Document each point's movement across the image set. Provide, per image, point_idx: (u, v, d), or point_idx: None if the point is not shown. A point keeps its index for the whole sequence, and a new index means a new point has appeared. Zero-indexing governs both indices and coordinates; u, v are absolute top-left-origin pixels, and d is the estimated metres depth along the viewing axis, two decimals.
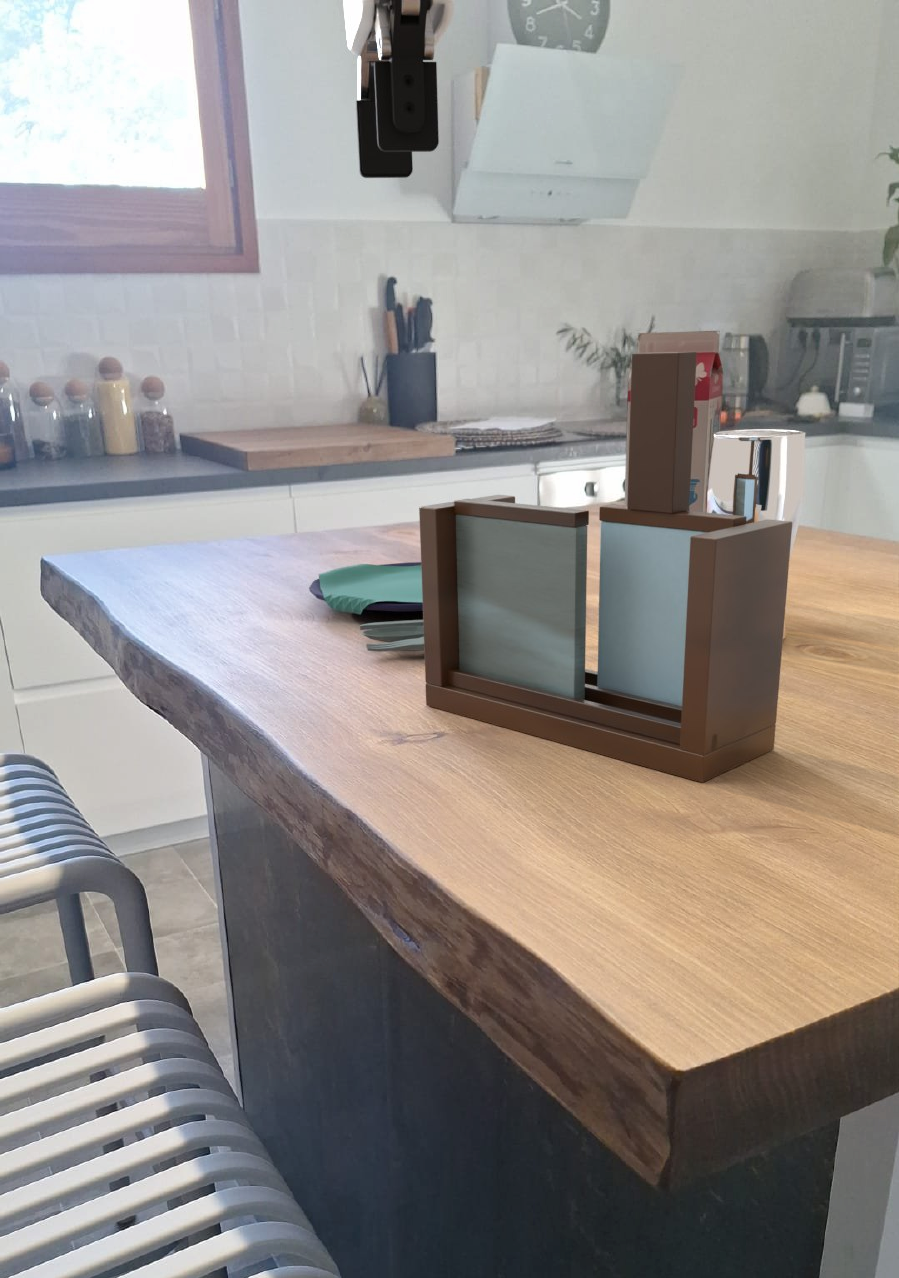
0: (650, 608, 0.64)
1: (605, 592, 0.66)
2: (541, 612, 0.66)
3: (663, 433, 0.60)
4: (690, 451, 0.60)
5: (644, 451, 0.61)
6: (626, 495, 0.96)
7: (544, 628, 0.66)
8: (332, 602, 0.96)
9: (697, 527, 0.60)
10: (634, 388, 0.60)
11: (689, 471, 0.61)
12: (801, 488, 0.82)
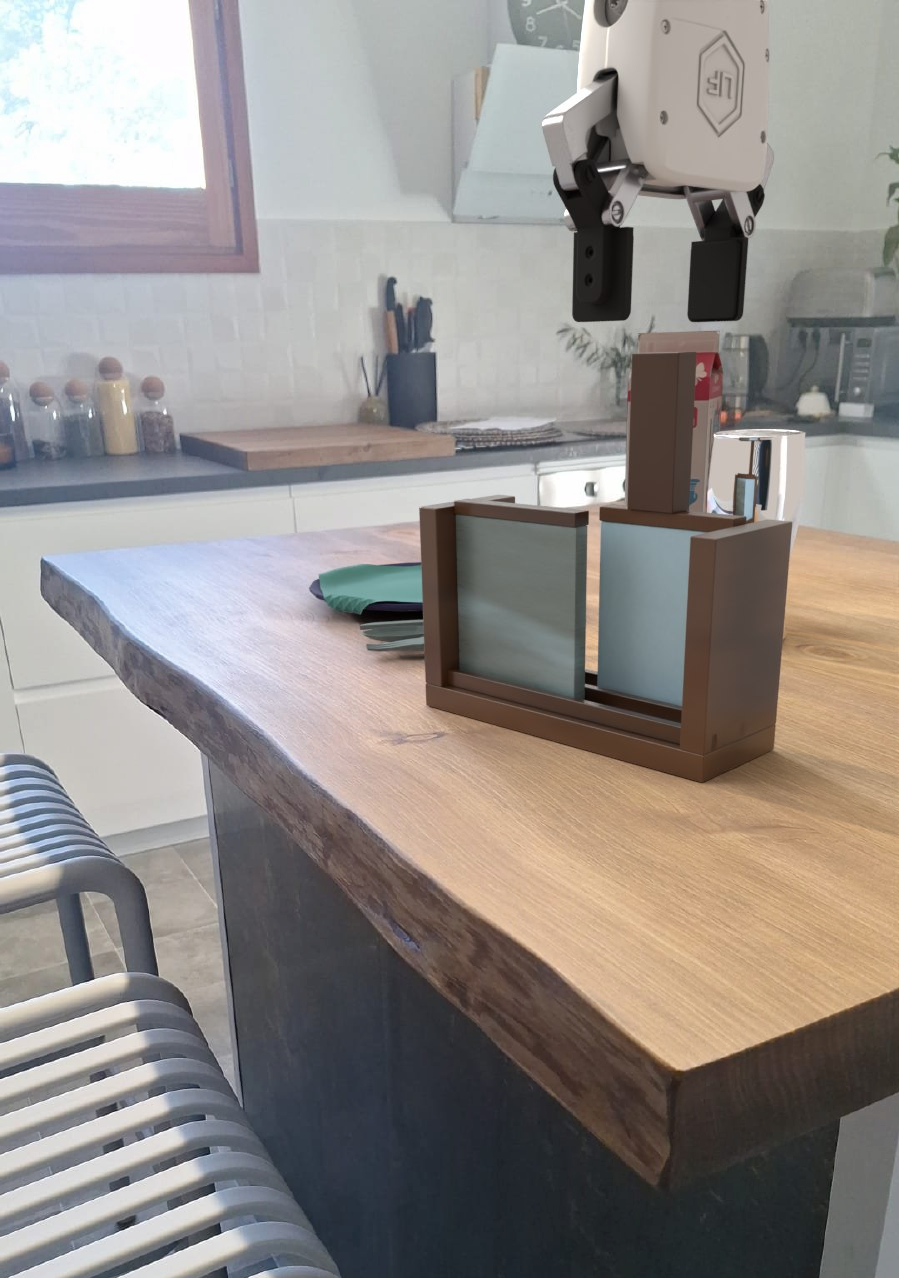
0: (650, 608, 0.64)
1: (605, 592, 0.66)
2: (541, 612, 0.66)
3: (663, 433, 0.60)
4: (690, 451, 0.60)
5: (644, 451, 0.61)
6: (626, 495, 0.96)
7: (544, 628, 0.66)
8: (332, 602, 0.96)
9: (697, 527, 0.60)
10: (634, 388, 0.60)
11: (689, 471, 0.61)
12: (801, 488, 0.82)
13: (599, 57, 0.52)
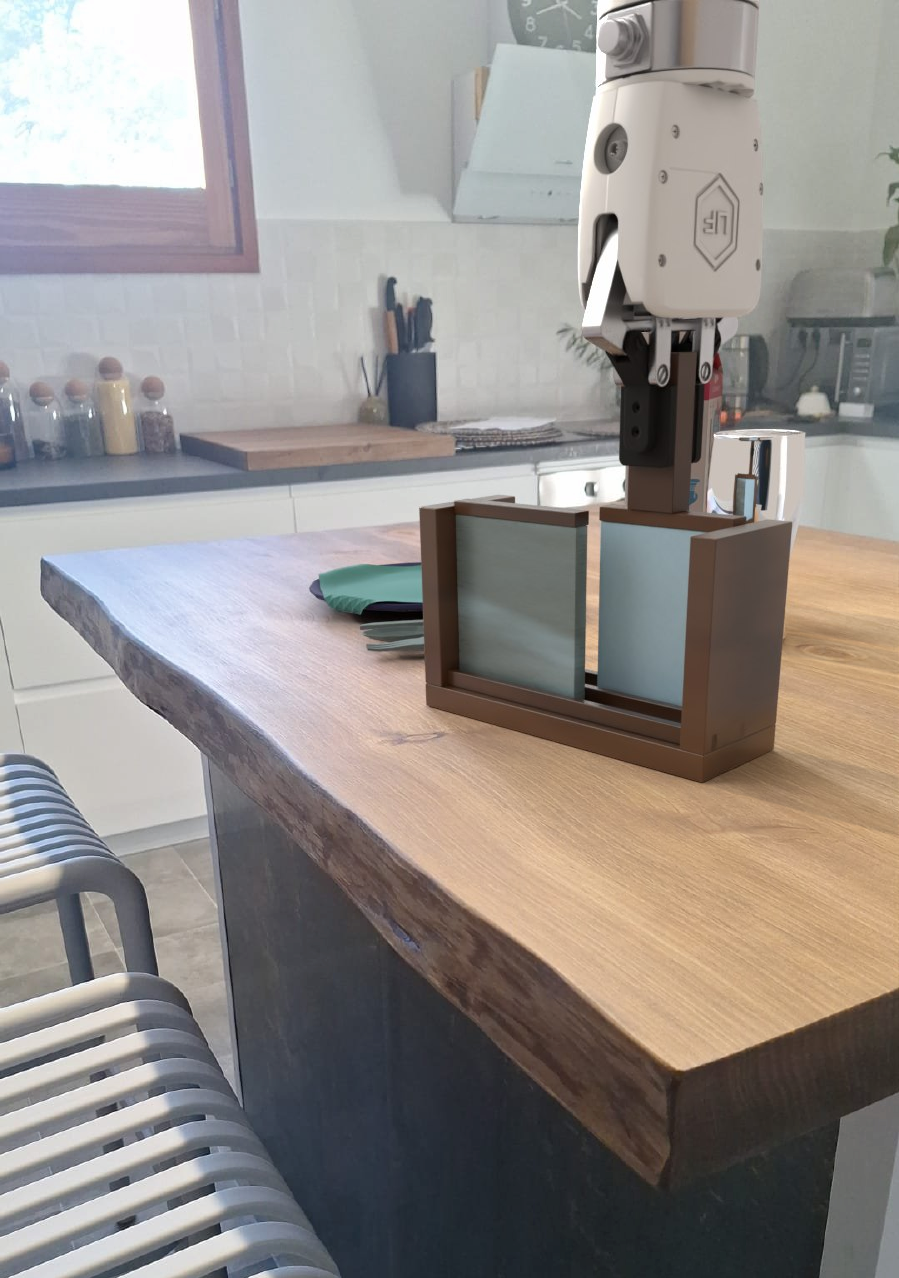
0: (650, 608, 0.64)
1: (605, 592, 0.66)
2: (541, 612, 0.66)
3: None
4: (690, 451, 0.60)
5: None
6: (626, 495, 0.96)
7: (544, 628, 0.66)
8: (332, 602, 0.96)
9: (697, 527, 0.60)
10: None
11: (689, 471, 0.61)
12: (801, 488, 0.82)
13: (599, 201, 0.54)
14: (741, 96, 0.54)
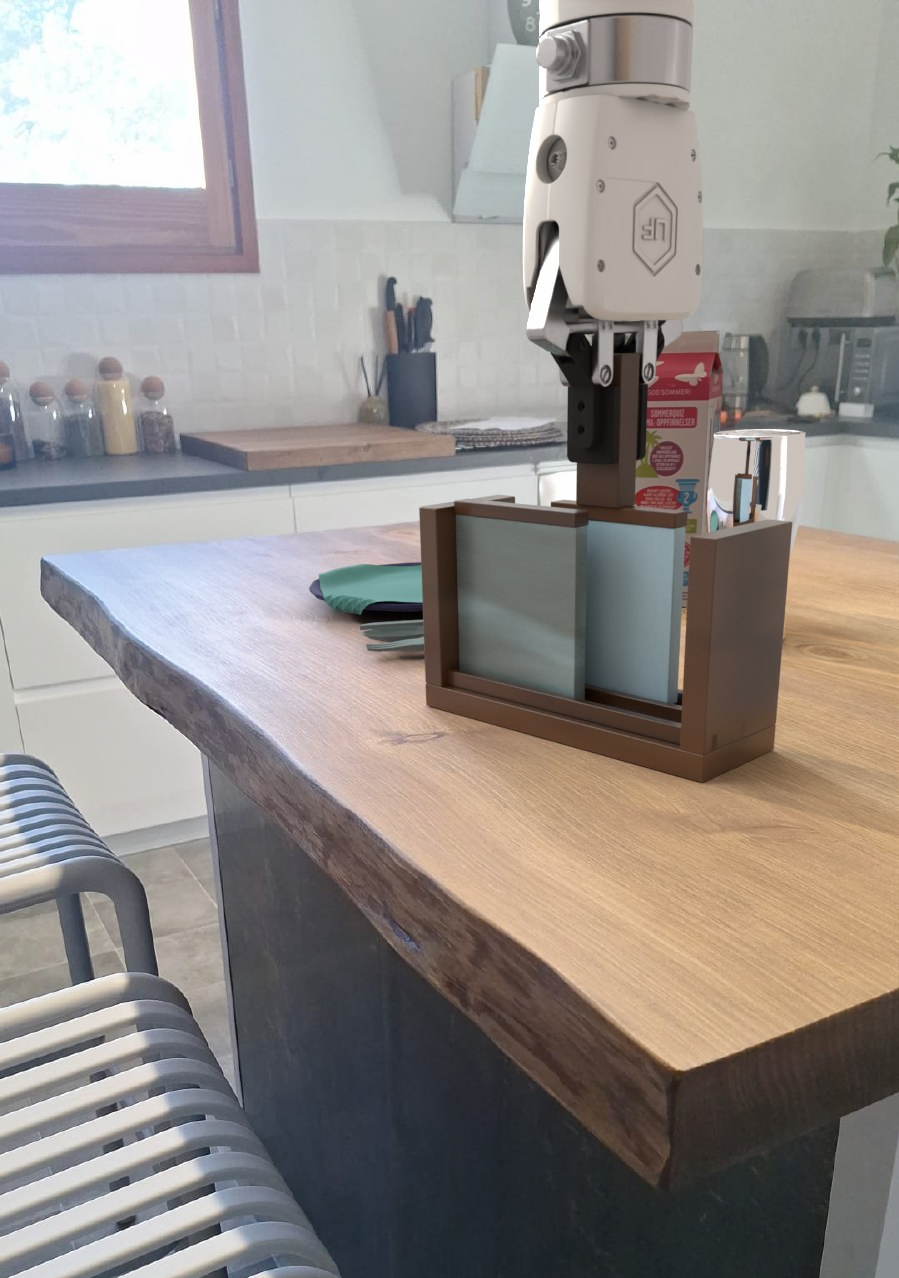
0: (599, 599, 0.66)
1: None
2: (541, 612, 0.66)
3: None
4: (634, 448, 0.63)
5: None
6: None
7: (544, 628, 0.66)
8: (332, 602, 0.96)
9: (641, 521, 0.62)
10: None
11: (634, 468, 0.63)
12: (801, 488, 0.82)
13: (541, 209, 0.56)
14: (678, 108, 0.57)
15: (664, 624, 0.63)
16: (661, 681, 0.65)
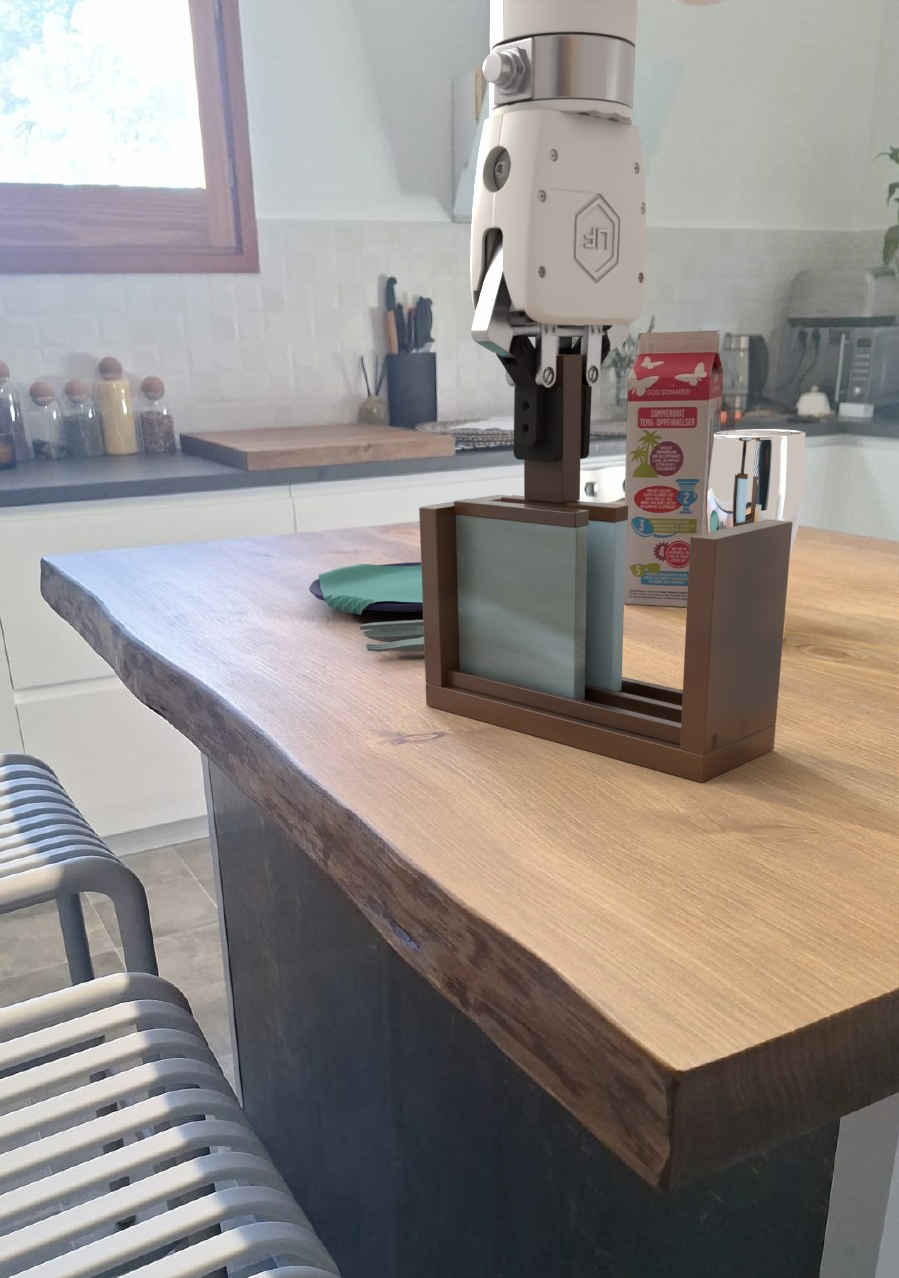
0: None
1: None
2: (541, 612, 0.66)
3: None
4: (578, 445, 0.65)
5: None
6: (626, 495, 0.96)
7: (544, 628, 0.66)
8: (332, 602, 0.96)
9: None
10: None
11: (578, 464, 0.66)
12: (801, 488, 0.82)
13: (487, 216, 0.59)
14: (621, 123, 0.60)
15: (607, 614, 0.66)
16: (605, 669, 0.67)
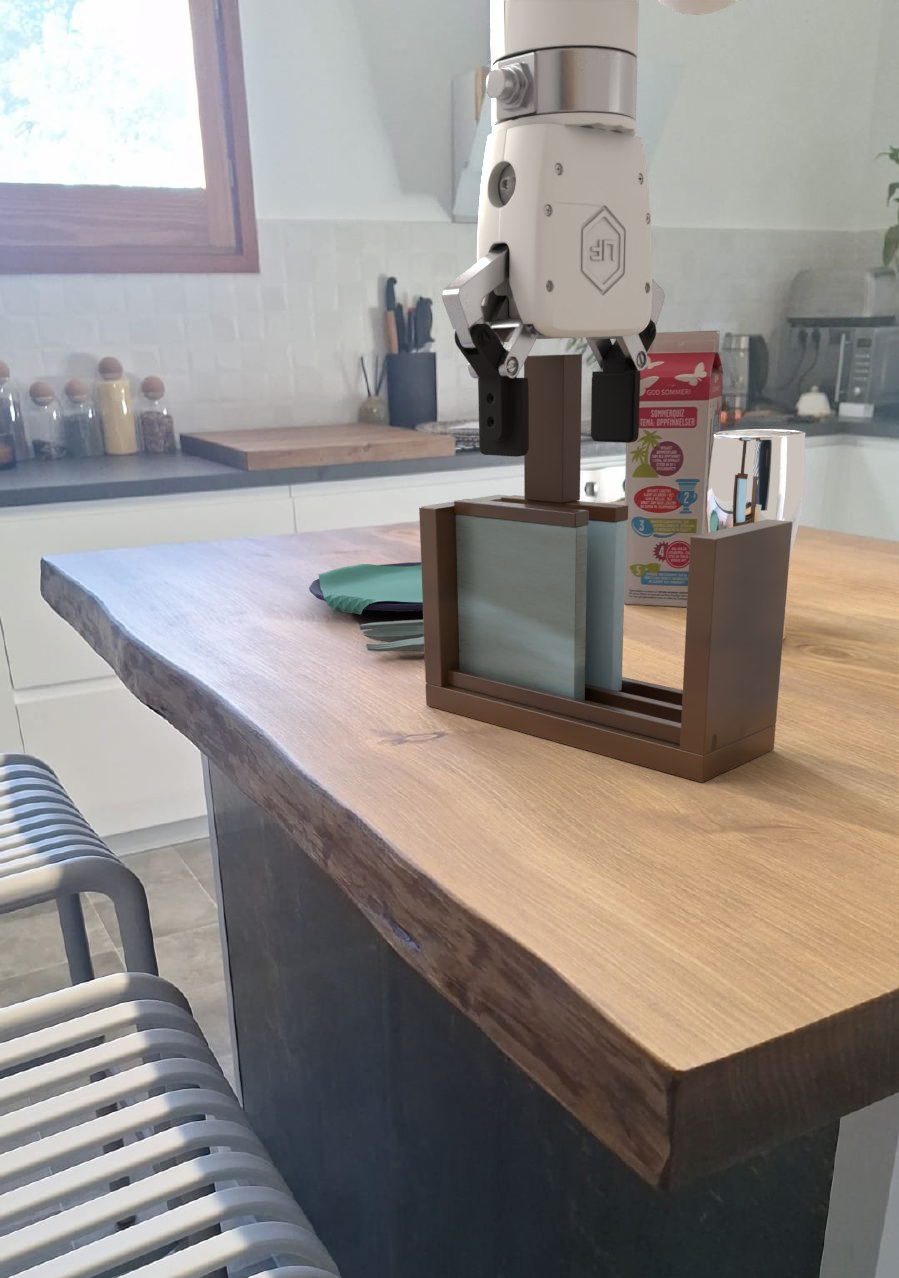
0: None
1: None
2: (541, 612, 0.66)
3: (553, 429, 0.65)
4: (579, 445, 0.65)
5: (537, 446, 0.66)
6: (626, 495, 0.96)
7: (544, 628, 0.66)
8: (332, 602, 0.96)
9: None
10: None
11: (578, 464, 0.66)
12: (801, 488, 0.82)
13: (493, 232, 0.59)
14: (624, 134, 0.59)
15: (607, 614, 0.66)
16: (605, 669, 0.67)
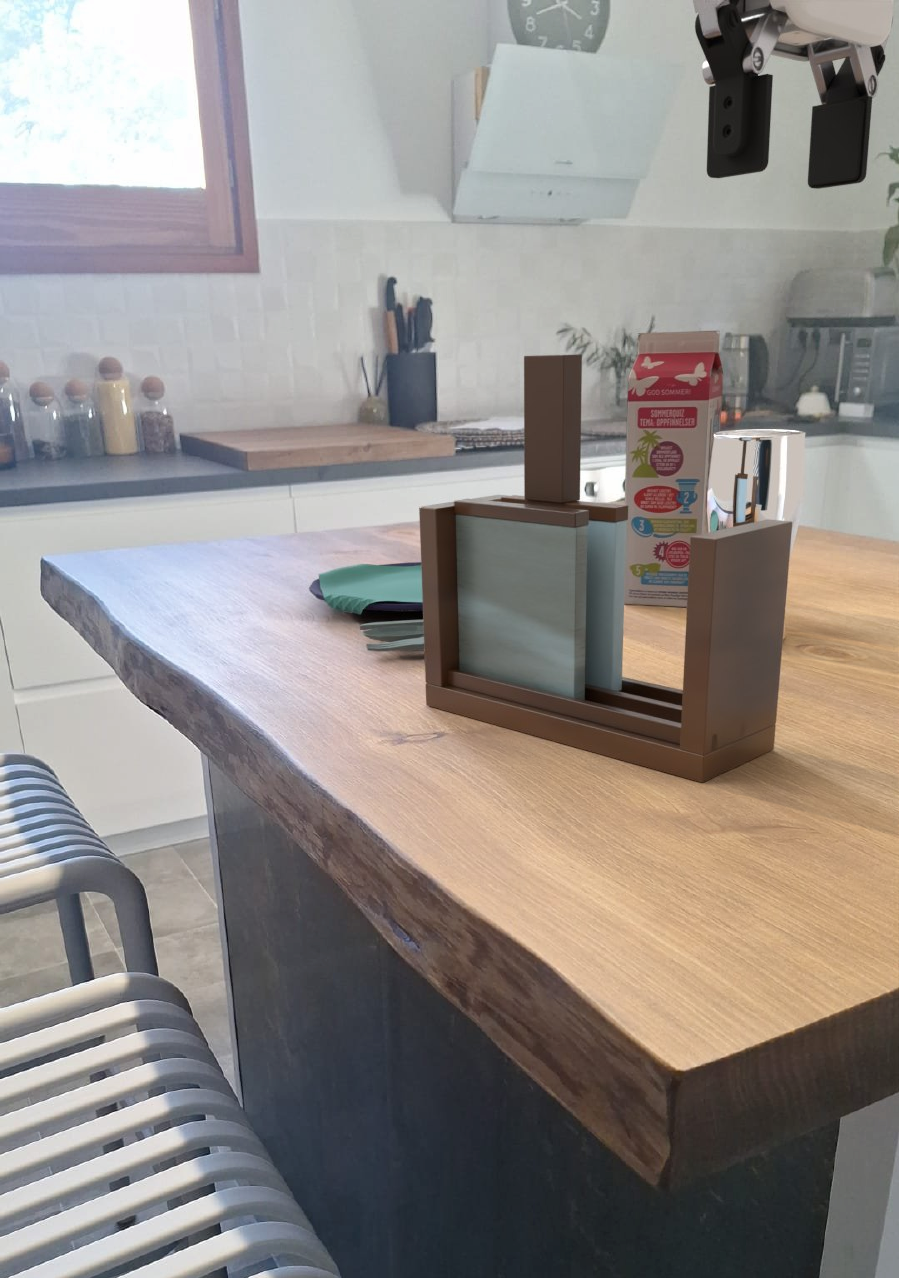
0: None
1: None
2: (541, 612, 0.66)
3: (553, 429, 0.65)
4: (579, 445, 0.65)
5: (537, 446, 0.66)
6: (626, 495, 0.96)
7: (544, 628, 0.66)
8: (332, 602, 0.96)
9: None
10: (527, 387, 0.65)
11: (578, 464, 0.66)
12: (801, 488, 0.82)
13: None
14: None
15: (607, 614, 0.66)
16: (605, 669, 0.67)
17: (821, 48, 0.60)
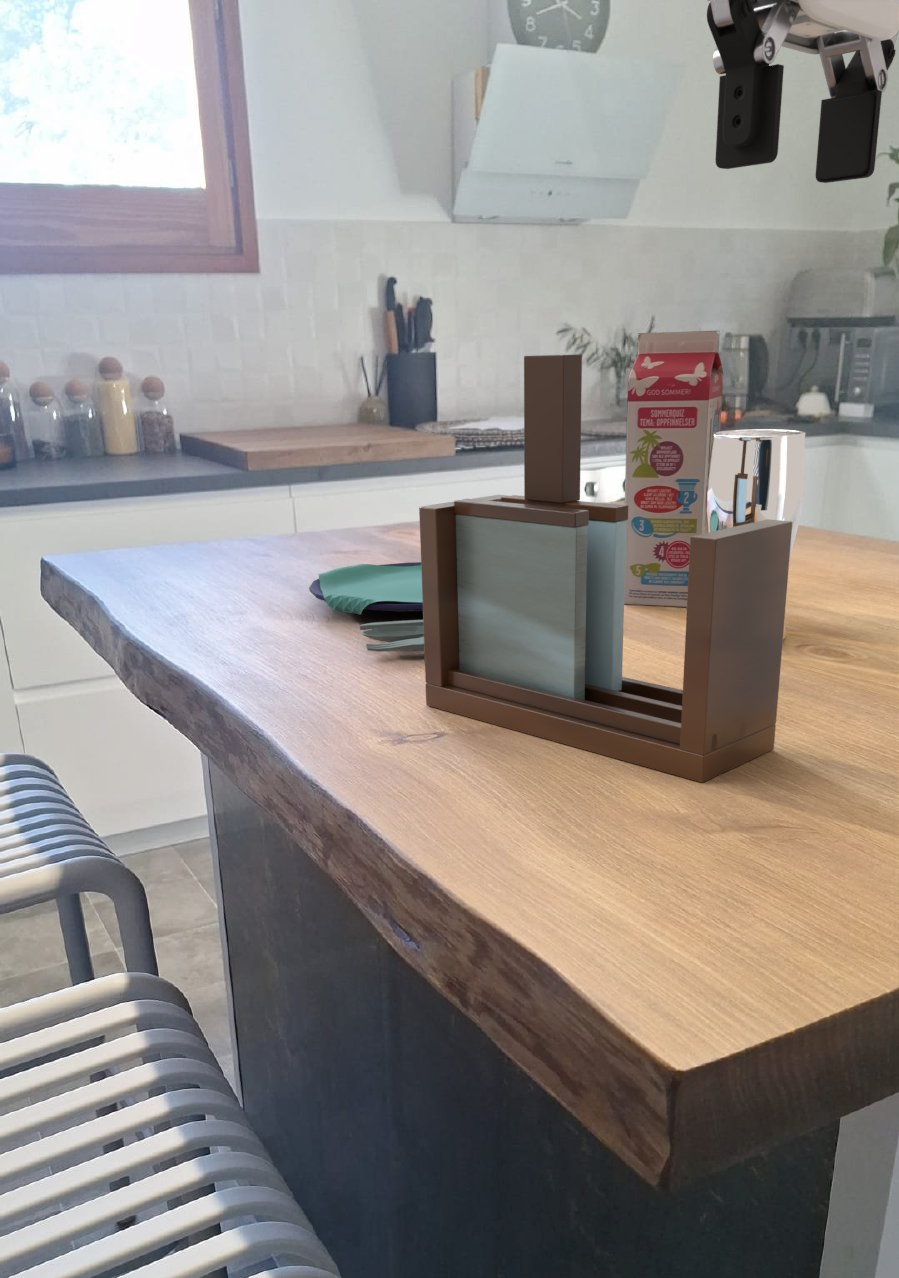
0: None
1: None
2: (541, 612, 0.66)
3: (553, 429, 0.65)
4: (579, 445, 0.65)
5: (537, 446, 0.66)
6: (626, 495, 0.96)
7: (544, 628, 0.66)
8: (332, 602, 0.96)
9: None
10: (527, 387, 0.65)
11: (578, 464, 0.66)
12: (801, 488, 0.82)
13: None
14: None
15: (607, 614, 0.66)
16: (605, 669, 0.67)
17: (831, 41, 0.60)
